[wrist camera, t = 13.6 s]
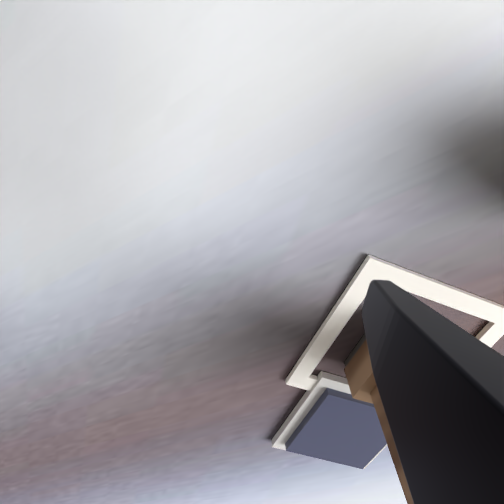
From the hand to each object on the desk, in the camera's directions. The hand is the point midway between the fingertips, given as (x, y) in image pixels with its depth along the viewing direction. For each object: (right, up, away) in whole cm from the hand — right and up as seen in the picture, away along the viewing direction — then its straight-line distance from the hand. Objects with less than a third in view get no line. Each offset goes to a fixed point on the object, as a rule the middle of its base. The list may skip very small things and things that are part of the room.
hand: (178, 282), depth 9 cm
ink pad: (+9, -13, +22) cm, 27 cm away
